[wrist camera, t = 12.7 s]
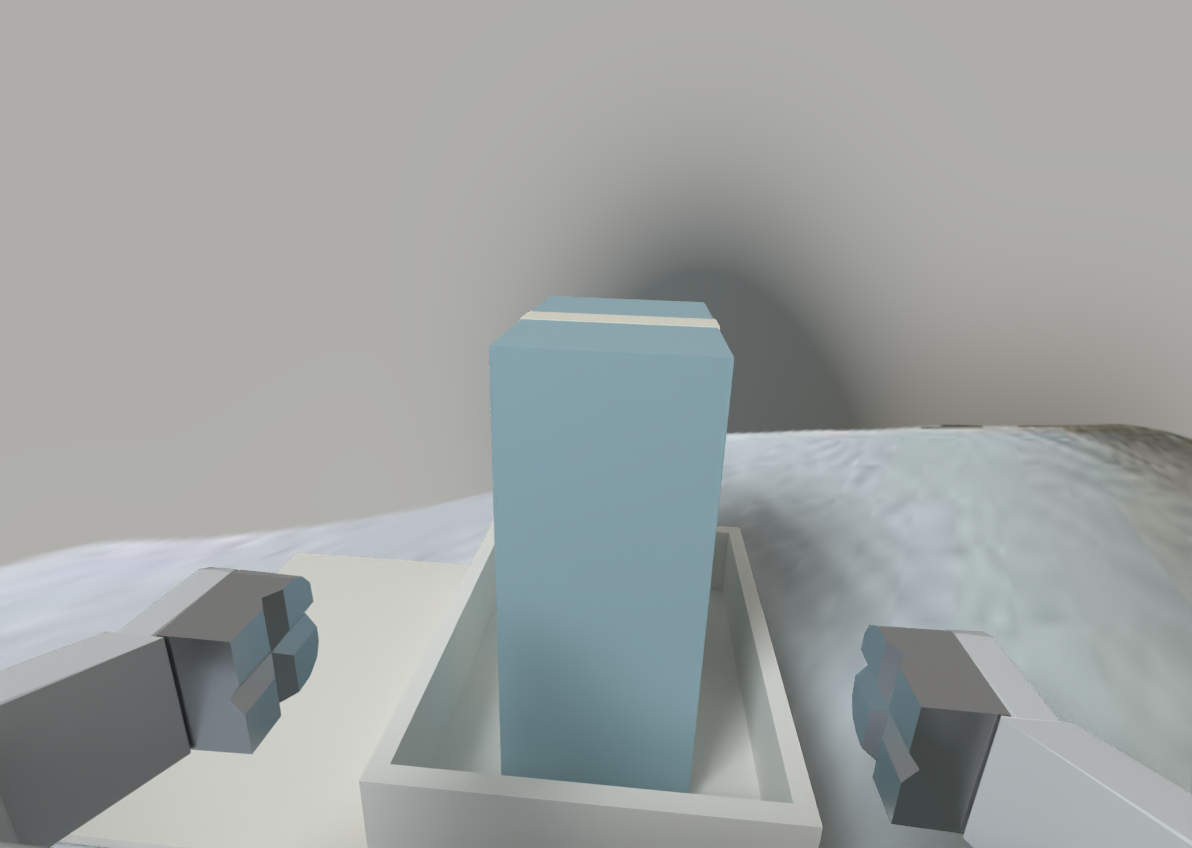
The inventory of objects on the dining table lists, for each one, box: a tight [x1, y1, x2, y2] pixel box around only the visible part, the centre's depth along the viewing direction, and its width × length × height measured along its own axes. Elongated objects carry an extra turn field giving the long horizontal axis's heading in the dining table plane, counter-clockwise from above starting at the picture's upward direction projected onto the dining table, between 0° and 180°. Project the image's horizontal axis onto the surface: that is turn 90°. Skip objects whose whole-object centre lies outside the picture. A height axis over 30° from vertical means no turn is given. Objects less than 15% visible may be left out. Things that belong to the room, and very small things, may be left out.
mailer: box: [58, 520, 823, 848], centre depth 20 cm, size 19×13×3 cm
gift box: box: [489, 296, 734, 793], centre depth 18 cm, size 5×8×12 cm, turn 175°
